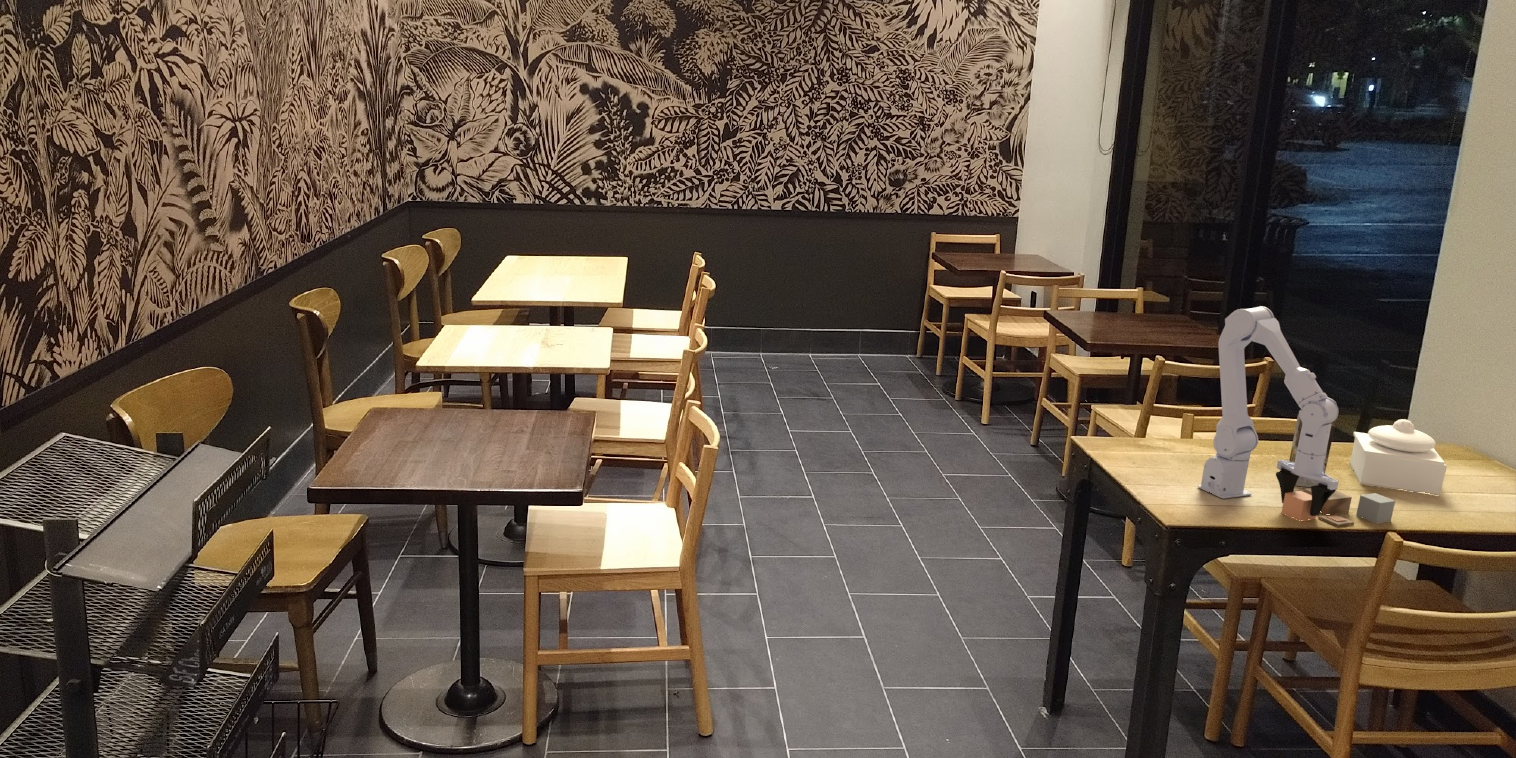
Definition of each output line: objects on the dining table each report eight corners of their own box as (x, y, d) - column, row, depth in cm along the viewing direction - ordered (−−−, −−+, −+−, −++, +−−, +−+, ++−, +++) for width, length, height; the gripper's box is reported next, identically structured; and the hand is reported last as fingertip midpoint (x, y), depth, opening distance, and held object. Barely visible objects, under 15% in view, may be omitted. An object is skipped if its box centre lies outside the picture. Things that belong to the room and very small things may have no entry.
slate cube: (1375, 523, 250) (1380, 503, 249) (1356, 515, 255) (1360, 495, 253) (1390, 521, 252) (1395, 500, 251) (1370, 513, 257) (1375, 493, 256)
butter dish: (1439, 497, 271) (1454, 435, 267) (1357, 484, 277) (1370, 423, 273) (1424, 475, 287) (1437, 416, 283) (1347, 463, 293) (1359, 405, 289)
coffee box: (1323, 489, 271) (1336, 426, 267) (1294, 486, 272) (1307, 422, 268) (1312, 477, 280) (1325, 415, 275) (1285, 473, 281) (1297, 412, 276)
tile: (1337, 527, 247) (1338, 523, 247) (1318, 518, 251) (1319, 515, 251) (1353, 524, 249) (1354, 521, 249) (1334, 516, 253) (1334, 512, 253)
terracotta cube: (1299, 521, 249) (1303, 500, 247) (1281, 513, 253) (1285, 492, 252) (1315, 519, 251) (1319, 498, 249) (1296, 511, 255) (1301, 490, 254)
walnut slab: (1325, 516, 254) (1329, 499, 253) (1301, 504, 260) (1304, 488, 259) (1348, 513, 256) (1351, 497, 255) (1323, 502, 263) (1326, 486, 262)
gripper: (1352, 460, 243) (1340, 518, 247) (1296, 440, 256) (1286, 495, 259) (1329, 463, 240) (1317, 522, 244) (1274, 442, 253) (1264, 498, 256)
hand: (1300, 508), depth 251 cm, fingers open, 7 cm apart
